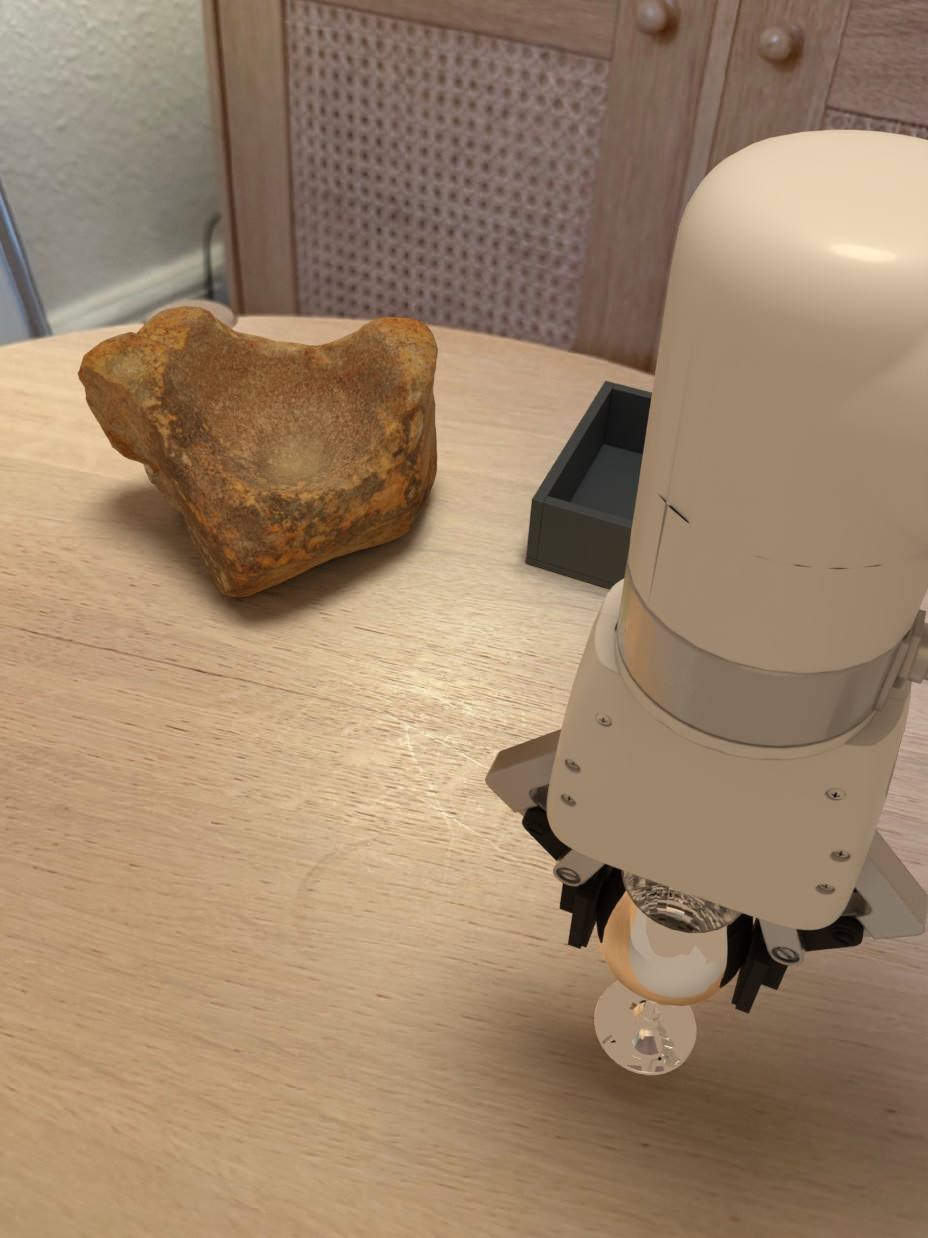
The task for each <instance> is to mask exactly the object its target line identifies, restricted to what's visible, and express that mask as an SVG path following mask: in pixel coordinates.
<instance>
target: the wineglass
mask: <svg viewBox="0 0 928 1238" xmlns="http://www.w3.org/2000/svg"><path fill="white" fill-rule="evenodd" d="M753 924H754V917H753V916H750V915H747V914H744V913H741V912H738V911H735V910H732V909H729V908H726V907H724V906H721V905H718V904H715V903H712V902H709V901H707V900H704V899H701V898H698V897H695V896H693V895H690V894H687V893H684V892H681V891H678V890H676V889H673V888H670V887H667V886H665V885H662V884H659V883H656V882H654V881H651V880H648V879H645V878H643V877H640V876H637V875H634V874H632V873H629V872H626V871H624V870H621V869H618V868H616V867H613V868H612V869H611V871H610V873H609V875H608V877H607V879H606V882H605V884H604V886H603V889H602V892H601V896H600V899H599V904H598V909H597V918H596V924H595V926H596V935H597V941H598V946H599V950H600V953H601V955H602V958H603V960H604V962H605V964H606V965H607V967H608V970H609V971H610V972H611V974H612V975H613V976H614V977H615V979H616V980H617V981H615V982H613V983H612V984H610V985H609V986H608V987H606V989H605V990H604V991H603V992H602V994H601V995H600V997H599V998H598V1000H597V1002H596V1006H595V1009H594V1013H593V1014H594V1017H593V1019H594V1020H593V1021H594V1022H593V1024H594V1030H595V1035H596V1038H597V1040H598V1043H599V1044H600V1046H601V1048H602V1049H603V1051H604V1052H605V1053H606V1054H607V1056H608V1057H609V1058H610V1059H611V1060H612V1061H614V1063H616V1064H617V1065H619V1066H620V1067H622V1068H624V1069H625V1070H628V1071H629V1072H632V1073H636V1074H639V1075H645V1076H658V1075H665V1074H668V1073H670V1072H672V1071H675V1070H676V1069H678V1068H679V1067H681V1066H682V1065H683V1064H685V1062H686V1061H687V1060H688V1059H689V1057H690V1055H691V1054H692V1052H693V1050H694V1048H695V1045H696V1041H697V1037H698V1035H697V1022H696V1018H695V1014H694V1012H693V1009H692V1007H691V1006H695V1005H699V1004H702V1003H703V1002H706V1001H708V1000H710V999H712V998H714V997H715V996H717V995H718V994H720V993H721V992H722V991H723V990H724V989H725V988H726V987H727V986H729V984H730V983H731V982H732V981H733V980H734V978H735V977H736V975H737V974H738V973H739V971H740V968H741V966H742V964H743V962H744V960H745V958H746V955H747V952H748V949H749V946H750V941H751V936H752V930H753Z"/></svg>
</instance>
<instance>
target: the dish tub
mask: <svg viewBox="0 0 928 1238" xmlns="http://www.w3.org/2000/svg"><path fill="white" fill-rule="evenodd" d="M651 397H652V392H651V391H648V390H645V389H641V388H636V387H633V386H628V385H624V384H620V383H616V382H612V381H609V380H605V381H604V382H603V383H602V385H601V387H600V389H598V391H597V392H596V394H595V396H594V398H593V400H592V401H591V403H590V405H589V407H588V408H587V409H586V411H585V413H584V414H583V416H582V417H581V419H580V420H579V422H578V424H577V426H576V427H575V429H574V430H573V432H572V433H571V436H569V439H568V440H567V442H566V443H565V444H564V446H563V448H562V450H561V452H560V453H559V454H558V456H557V458H556V459H555V461H554V463H553V464H552V466H551V468H550V469H549V471H548V472H547V473H546V476H545V478H543V480H542V482H541V484H540V485H539V487H538V489H537V490H536V492H535V493H534V495H533V497H532V498H531V503H530V515H529V524H528V534H527V544H526V553H525V554H526V555H525V564H528V565H530V566H534V567H537V568H540V569H543V570H547V571H551V572H553V573H557V574H560V575H563V576H566V577H569V578H572V579H576V580H580V581H581V582H582V581H583V582H586V583H589V584H592V585H595V586H599V587H602V588H605V589H608V590H610V589H611V588H612V587H613V586H614V585H615V584H616V583H618V582H619V581H620V580H622V579H624V577H625V570H626V564H627V557H628V552H629V547H630V538H631V530H632V523H633V517H634V511H635V504H636V498H637V491H638V484H639V478H640V471H641V464H642V458H643V451H644V444H645V438H646V431H647V424H648V417H649V411H650V404H651Z"/></svg>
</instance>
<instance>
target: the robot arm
mask: <svg viewBox="0 0 928 1238" xmlns="http://www.w3.org/2000/svg"><path fill="white" fill-rule="evenodd" d="M675 239H676V240H675V245H674V248H673V254H672V258H671V264H670V271H669V276H668V277H669V278H668V283H667V291H666V297H665V304H664V310H663V317H662V323H661V331H660V337H659V344H658V352H657V356H656V357H657V359H656V365H655V371H654V377H653V384H652V397H651V404H650V411H649V417H648V424H647V431H646V438H645V444H644V451H643V458H642V464H641V471H640V478H639V484H638V491H637V498H636V504H635V511H634V517H633V523H632V530H631V538H630V547H629V552H628V557H627V564H626V570H625V577H624V579H622V580H620V581H619V582H618V583H616V584H615V585H614V586H613V587H612V588H611V589H609V590H608V591H607V594H606V595H605V597H604V599H603V601H602V603H601V605H600V607H599V610H598V612H597V614H596V617H595V619H594V620H593V623H592V626H591V629H590V632H589V634H588V637H587V641H586V644H585V647H584V650H583V653H582V654H581V655H582V656H581V659H580V661H579V664H578V668H577V670H576V673H575V676H574V680H573V683H572V687H571V690H570V694H569V697H568V701H567V706H566V709H565V713H564V717H563V719H562V720H563V721H562V724H561V728H560V729H557V730H554V731H552V732H549V733H546V734H544V735H541V736H538V737H534V738H532V739H529V740H526V741H524V742H522V743H518V744H516V745H513V746H510V747H507V748H505V749H502V750H499V751H498V752H497V754H496V756H495V758H494V760H493V761H492V764H491V766H490V768H489V770H488V772H487V773H486V775H485V778H484V781H485V784H486V785H487V787H488V788H489V789H490V790H491V791H492V792H493V793H494V794H495V795H496V796H497V797H498V798H499V799H500V800H501V801H502V802H503V803H504V804H505V805H506V806H507V807H508V808H509V809H510V810H511V811H512V812H513V813H519V814H520V815H521V816H522V819H521V824H522V825H521V826H522V827H523V829H524V830H525V831H526V832H527V833H528V834H529V835H530V836H531V837H532V838H533V839H534V840H535V842H537V843H538V844H539V845H540V846H541V847H542V848H543V849H544V850H545V852H547V854H548V855H550V856H551V858H553V859H554V861H556V862H555V864H554V867H553V868H552V874H553V876H554V877H555V878H556V880H558V881H559V882H561V883H562V884H561V891H560V900H559V907H558V908H559V910H561V911H563V912H567V913H570V914H571V920H570V927H569V934H568V940H567V945H568V946H571V947H572V948H575V949H578V950H581V949H582V947H583V948H587V947H588V945H589V942H590V940H591V937H592V934H593V931H594V929H595V926H596V918H597V909H598V904H599V899H600V896H601V892H602V889H603V886H604V884H605V882H606V879H607V877H608V875H609V873H610V871H611V869H612V868H613V867H616V868H618V869H621V870H624V871H626V872H629V873H632V874H634V875H637V876H640V877H643V878H645V879H648V880H651V881H654V882H656V883H659V884H662V885H665V886H667V887H670V888H673V889H676V890H678V891H681V892H684V893H687V894H690V895H693V896H695V897H698V898H701V899H704V900H707V901H709V902H712V903H715V904H718V905H721V906H724V907H726V908H729V909H732V910H735V911H738V912H741V913H744V914H747V915H750V916H753V918H755V919H754V921H753V930H752V936H751V941H750V946H749V949H748V952H747V955H746V958H745V960H744V962H743V964H742V966H741V968H740V969H739V971H738V973H737V974H738V975H737V978H736V982H735V985H734V989H733V994H732V997H731V1002H730V1004H732V1005H734V1006H735V1008H734V1009H735V1010H738V1011H739V1012H743V1013H745V1014H747V1015H749V1014H750V1012H751V1010H752V1007H753V1005H754V1003H755V1000H756V998H757V996H758V993H759V991H760V988H761V986H764V987H767V988H769V989H772V990H775V991H778V990H779V988H780V985H781V983H782V981H783V978H784V976H785V974H786V972H787V970H788V967H796V966H800V965H801V964H802V963H803V962H804V960H805V955H806V952H814V951H815V952H816V951H825V950H836V949H843V948H844V949H845V948H854V947H858V946H859V945H861V944H862V942H863V939H864V938H869V937H872V939H873V940H886V939H899V938H908V937H918V936H921V935H923V934H924V933H925V931H926V928H927V927H926V925H927V919H928V918H927V917H928V894H927V892H926V891H925V889H924V888H923V887H922V886H921V885H920V883H919V882H918V880H917V879H916V878H915V877H914V876H913V874H912V873H911V872H910V870H909V869H908V867H906V865H905V864H904V863H903V862H902V860H901V859H900V858H899V857H898V855H897V854H896V853H895V851H894V850H893V849H892V848H891V846H890V845H889V843H888V842H887V841H886V840H885V839H884V837H883V836H882V835H881V833H880V832H879V830H878V829H877V828H878V825H879V822H880V819H881V816H882V814H883V810H884V807H885V804H886V800H887V797H888V794H889V791H890V790H889V789H890V786H891V783H892V779H893V776H894V772H895V768H896V764H897V759H898V757H899V751H900V748H901V743H902V739H903V736H904V734H905V731H906V728H907V723H908V718H909V717H908V716H909V711H910V703H911V697H912V696H911V695H912V686H913V685H912V684H913V683H914V684H915V683H916V684H919V685H921V684H922V683H923V681H927V682H928V622H926V616H927V615H926V614H927V610H924V609H921V606H922V604H923V601H924V599H925V597H926V594H927V592H928V139H926V138H920V137H916V136H912V135H905V134H899V133H892V132H886V131H878V130H863V129H862V130H861V129H824V130H810V131H801V132H793V133H789V134H784V135H778V136H773V137H769V138H768V137H767V138H765V139H762V140H759V141H756V142H754V143H751V144H749V145H747V146H746V147H744V148H742V149H740V150H738V151H736V152H735V153H733V154H731V155H729V156H727V157H725V158H724V159H723V160H721V161H720V162H719V163H718V164H717V165H715V166H714V167H713V168H712V169H711V170H710V171H709V172H708V173H707V174H706V176H705V177H703V179H702V180H701V182H700V183H699V184H698V186H697V188H696V189H695V191H694V192H693V194H692V196H691V197H690V199H689V201H688V202H687V204H686V206H685V208H684V211H683V213H682V216H681V218H680V222H679V225H678V229H677V235H676V238H675Z"/></svg>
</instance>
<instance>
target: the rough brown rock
mask: <svg viewBox="0 0 928 1238" xmlns="http://www.w3.org/2000/svg"><path fill="white" fill-rule="evenodd" d="M438 353H439V348H438V343H437V341H436V339H435V336H434V333H433V331H432V330H431V328H430V327H429V326H428V325H427V324H425V322H423V321H422V320H419V319H416V318H409V317H403V316H382V317H379V318H376V319H373V320H371V321H369V322H367V323H365V324H363V325H362V326H361V327H360V328H359V329H357V330H356V331H354V332H351V333H349V334H347V335H345V336H343V337H341V338H338V339H335V340H332V341H331V342H327V343H322V344H319V345H313V344H312V345H310V344H309V345H308V344H305V343H299V342H292V341H282V340H281V341H277V340H273V339H270V338H267V337H264V336H262V335H255V334H249V333H245V332H241V331H237V330H234V329H233V328H231V327H229V326H228V325H227V324H226V323H224V322H223V321H222V320H221V319H219V318H217V317H216V316H215V315H214V314H213V313H212V312H211V311H210V310H208V309H205V308H203V307H200V306H191V305H183V306H178V307H171V308H167V309H164V310H161V311H159V312H157V313H156V314H155V315H154V316H152V317H151V318H150V319H149V320H148V321H147V322H146V323H144V325H142V327H141V328H140V329H139V330H138V331H137V332H133V331H129V332H125V333H121V334H118V335H115V336H112V337H109V338H107V339H105V340H102V341H101V342H99V343H97V345H95V346H94V347H93V348H91V349H90V350H88V351H87V352H86V353H85V354H83V356H82V359H81V363H80V366H79V370H78V371H77V377H78V380H79V381H80V383H81V385H82V387H84V393H85V401H86V403H87V406H88V407H89V410H90V411H91V413H92V415H93V416H94V418H95V420H96V421H97V423H98V425H99V427H100V428H101V430H102V432H103V433H104V435H105V437H106V439H107V440H108V441H109V444H110V446H111V448H112V449H114V450H115V451H117V452H118V454H119V455H121V456H123V457H124V458H125V459H127V460H130V461H134V462H138V463H140V464H142V465H143V467H144V470H145V473H146V475H147V478H148V480H149V482H150V483H151V484H152V485H154V486H155V487H156V489H158V491H159V492H160V493H161V494H162V496H163V497H164V498H165V500H166V501H167V503H168V504H169V505H170V506H171V507H172V508H173V509H175V510H177V511H178V512H180V513H181V514H182V516H183V518H184V519H183V520H184V522H185V524H186V529H187V532H188V534H189V537H190V539H191V541H192V543H193V545H194V548H196V549H197V551H198V552H199V554H200V556H201V558H202V560H203V562H204V564H205V566H206V569H207V571H208V573H209V576H210V577H211V580H212V582H213V583H214V585H215V587H216V588H217V590H218V591H219V592H220V593H221V594H222V595H225V596H228V597H230V598H242V597H244V598H245V597H250V596H253V595H254V594H257V593H259V592H262V591H264V590H267V589H270V588H273V587H276V586H278V585H280V584H282V583H284V582H286V581H288V580H289V579H292V578H294V577H297V576H299V575H301V574H303V573H305V572H306V571H309V570H310V569H312V568H314V567H316V566H319V565H321V564H324V563H327V562H329V561H331V560H332V559H334V558H339V557H342V556H345V555H348V554H351V553H354V552H357V551H361V550H366V549H370V548H374V547H378V546H381V545H384V544H387V543H391V542H392V541H395V540H397V539H399V538H401V537H402V536H404V535H406V534H408V533H409V532H410V531H411V529H412V527H413V526H414V524H415V521H416V518H417V517H418V515H419V514H420V513H421V511H422V509H423V508H424V507H425V506H426V503H427V501H428V499H429V496H430V493H431V490H432V488H433V487H434V486H433V485H434V483H435V480H436V476H437V472H438V440H437V439H438V438H437V426H436V425H437V424H436V401H435V399H436V398H435V394H434V386H435V374H436V370H437V360H438Z"/></svg>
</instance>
